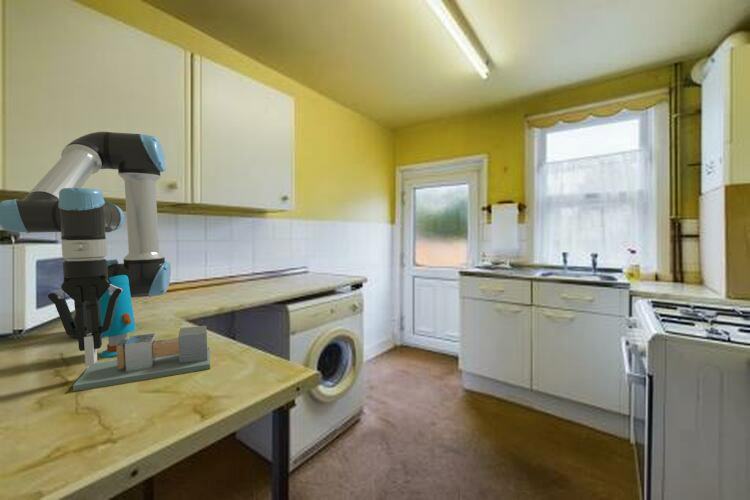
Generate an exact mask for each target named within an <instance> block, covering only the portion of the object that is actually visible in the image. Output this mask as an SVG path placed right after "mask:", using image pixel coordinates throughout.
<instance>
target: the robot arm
mask: <svg viewBox="0 0 750 500" xmlns="http://www.w3.org/2000/svg"><path fill="white" fill-rule="evenodd" d="M60 155H61V157H60V159H59V160H58V161H57V162H56V163H55V164H54V165H53V167H51V169H50V170H49V171H48V172H47V173H45V175H44V176H43V177H42V178H41V179H40V180H39V182H38V183H37V184H36V185H35V186H34V187H33V188H32V189H31V190H30V191H29V192H28V194H27V195H25V197H24V198H22V199H18V198H15V199H5V200H2V201H1V202H0V227H1V228H2V229H3V230H4V231H7V232H10V233H26V234H31V233H36V234H37V233H60V235H61V237H60V238H61V242H60V243H61V257H62V258H63V259H65V261H63V262H62V272H63V282H62V284H61V285H60V288H58V289H57V290H55V291H53V292H51V293H49V294H48V295H47V297H48V299H49V300H50V301H51V302H52V303H53V304H54V306H55V308H56V310H57V313H58V316H59V318H60V321H61V323H62V327H63V328H64V330H65V334H66V335H67V336H68V337H70V338H75V339H77V341H78V343H77V344H78V350H79V351H80V352H83V351H84V360H85V361H84V362H85V367H89V366H90V365H94V364H95V363H98V352H97V351H98V349H100V348H101V347H102V345H103V342H102V337H103V336H101V333H102V332H105V331H108V330H109V329H110V327H111V325H112V321H113V317H114V312H115V308H116V304H117V300H118V297H119V295H120V294H121V293H122V291H123V288H122V287H119V288H118V287H116V286H114V285H112V284H111V281H110V280H109V278H110V277H114V276H119V275H127V276H128V280H129V286H130V295H131V299H132V298H145V297H146V298H147V297H148V298H152V297H158V296H163V295H165V294H166V292H167V291H168V290H169V286H170V282H171V275H172V268H171V266H172V265H171V263H170V261H166V260H165V259H166V258H165V257H166V256H165V255H163V254H162V253H161V252H160V245H159V243H160V242H159V225H158V224H159V223H158V221H159V220H158V206H157V205H158V204H157V187H156V186H157V185H156V182H157V181H158V180H160V178H161V173H163V172H165V171H167V170H166V169H167V162H166V157H165V153H164V149H163V146H162V144H161V141H160V140H159V139H158V137H156V136H154V135H149V134H142V133H128V132H127V133H125V132H112V131H111V132H109V131H95V132H90V133H88V134H84V135H82V136H80V137H77V138H76V139H73V140H72V141H71V142H69V143H68V144H66V145H65V147H64V148H63V149H61V154H60ZM100 170H117V172H118V173H117V175H118V176H119V177H120V178H121V179H122V180H124V193H125V208H126V217H125V213H124V211H123V209H121V207H120V206H118V205H116V204H114V203H112V202H110V201H105V199H104V193H103V192H102V191H101V190H99V189H95V188H87V187H83V186H84V185H85V183H87V181H88V180H89V178H90V177H91V176H92V175H94V174H96V173H98V172H99V171H100ZM125 218H126V230H127V242H128V243H127V244H128V245H127V246H128V253H127V255H125V256H124V258H123V263H119V260H118V259H105V257H107V256H108V254H107V252H108V251H107V240H106V239H107V238H106V236H107V235H106V233H111V232H114V231H117V230H118V229H120V228H121V227H122V226H123V224H124V222H125ZM108 289H109V295H111V297H110V299H109V303H108V307H107V311H106V315H105V319H104V323H103V326H101V310H100V298H101V297H102V296H103V295H104V293H105V292H106V291H107V290H108ZM66 295H67V296H68V297H70V299H72V300H73V301H74V313H73V315H72V313H71V309H70V308H69V305H68V303H67V300H66V299H65V298H66Z"/></svg>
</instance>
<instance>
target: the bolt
mask: <svg viewBox="0 0 750 500" xmlns="http://www.w3.org/2000/svg"><path fill="white" fill-rule="evenodd" d="M128 339H129V338H127V339H124V340H121V341H120V342H119V344H118V345H117V346H116V347H117V357H116V360H117V366H118V369H122V368H125V366H126V359H125V343H126V342H127V341H128ZM152 354H153V358H158V357H165V356H172V355H179V343H178V337H175V338H168V339H167V338H165V339H159V340H155V341H153V343H152Z"/></svg>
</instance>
